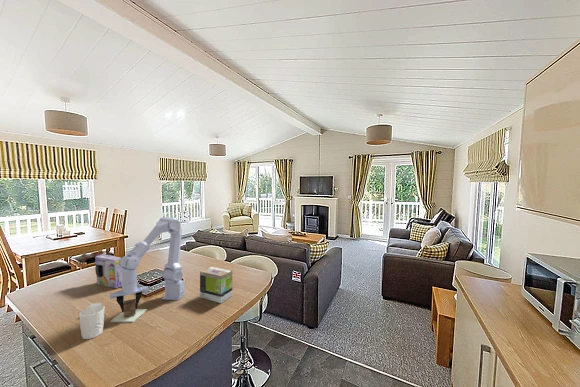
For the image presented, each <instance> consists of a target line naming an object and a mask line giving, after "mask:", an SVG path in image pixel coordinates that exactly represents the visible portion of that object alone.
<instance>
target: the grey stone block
mask: <svg viewBox="0 0 580 387" xmlns="http://www.w3.org/2000/svg"><path fill="white" fill-rule="evenodd" d="M93 306H102V302H95V303H90V305H89V306H88V307H87V308H89V307H93Z"/></svg>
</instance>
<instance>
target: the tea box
mask: <svg viewBox="0 0 580 387" xmlns="http://www.w3.org/2000/svg"><path fill="white" fill-rule="evenodd" d="M232 296H233V270H232V269H227V268H222V267H217V266H216V267H215V266H210V267H208V268H206V269H203V270H201V271H200V272H199V298H201V299H204V300H208V301H210V302H211V301H212V302H214V303H219V304H222V303H224V302H225V301H227V300H228V299H230V298H231V297H232Z"/></svg>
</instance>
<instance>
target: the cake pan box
mask: <svg viewBox="0 0 580 387" xmlns="http://www.w3.org/2000/svg"><path fill="white" fill-rule="evenodd" d="M94 258H95V274H96V285H99V286H104V287H108V288H112V289H119V288H122V268H121V267H120V265H119V262H120V260H121V259H122V258H123V257H119V256H114V255H110V254H98V255H96V256H95V257H94Z"/></svg>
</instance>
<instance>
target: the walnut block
mask: <svg viewBox="0 0 580 387" xmlns="http://www.w3.org/2000/svg"><path fill="white" fill-rule="evenodd" d="M135 306H136V298H133V299H128V300H124V317H126V316H130V315H135V314H136V310H135Z"/></svg>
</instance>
